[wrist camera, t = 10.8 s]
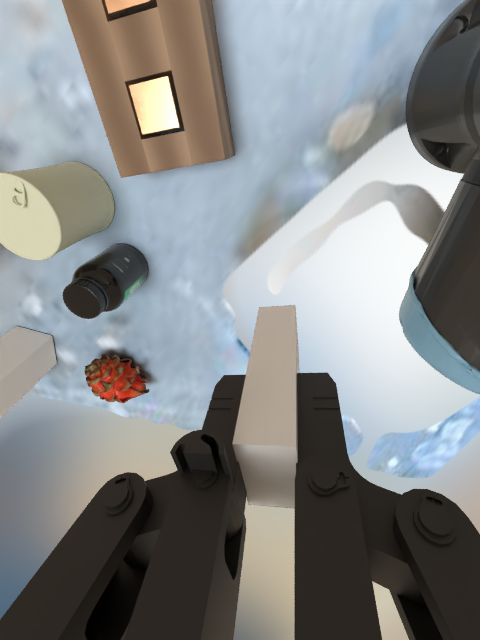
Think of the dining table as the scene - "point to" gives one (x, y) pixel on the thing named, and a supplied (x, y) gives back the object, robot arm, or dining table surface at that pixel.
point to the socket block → (152, 63)
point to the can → (52, 208)
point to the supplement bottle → (105, 281)
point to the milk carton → (23, 363)
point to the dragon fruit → (115, 379)
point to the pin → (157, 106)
